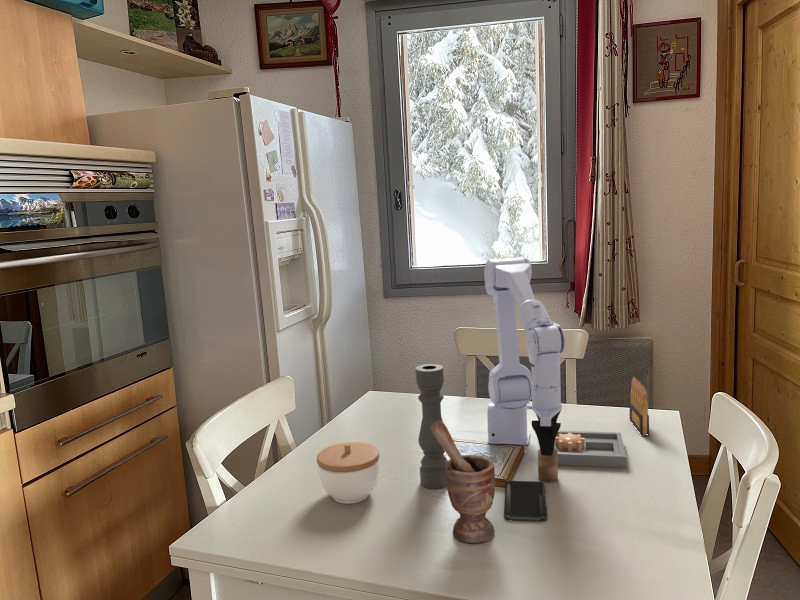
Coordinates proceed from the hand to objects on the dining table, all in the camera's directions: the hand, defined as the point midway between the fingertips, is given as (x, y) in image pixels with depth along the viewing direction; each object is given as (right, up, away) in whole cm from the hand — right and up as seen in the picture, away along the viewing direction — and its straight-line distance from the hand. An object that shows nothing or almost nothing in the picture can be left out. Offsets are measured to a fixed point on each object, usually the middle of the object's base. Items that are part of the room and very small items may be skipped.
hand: (547, 447), depth 134 cm
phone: (-6, -9, -8) cm, 14 cm away
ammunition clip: (+28, -1, +26) cm, 38 cm away
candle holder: (-23, -8, +2) cm, 25 cm away
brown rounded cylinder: (0, -7, +1) cm, 7 cm away
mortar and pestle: (-19, -11, -18) cm, 29 cm away
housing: (+12, -4, +13) cm, 18 cm away
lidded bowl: (-40, -10, -1) cm, 42 cm away
